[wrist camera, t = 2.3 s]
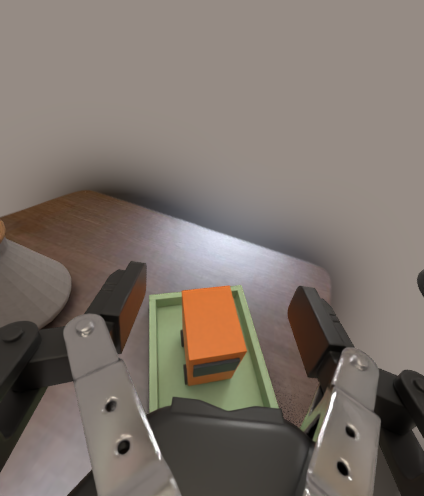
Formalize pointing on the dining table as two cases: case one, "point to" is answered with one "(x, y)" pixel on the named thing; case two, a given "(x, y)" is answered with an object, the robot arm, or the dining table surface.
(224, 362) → the toy van
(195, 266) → the dining table surface
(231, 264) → the dining table surface
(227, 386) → the green square tray
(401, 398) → the robot arm
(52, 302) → the coffee pot
